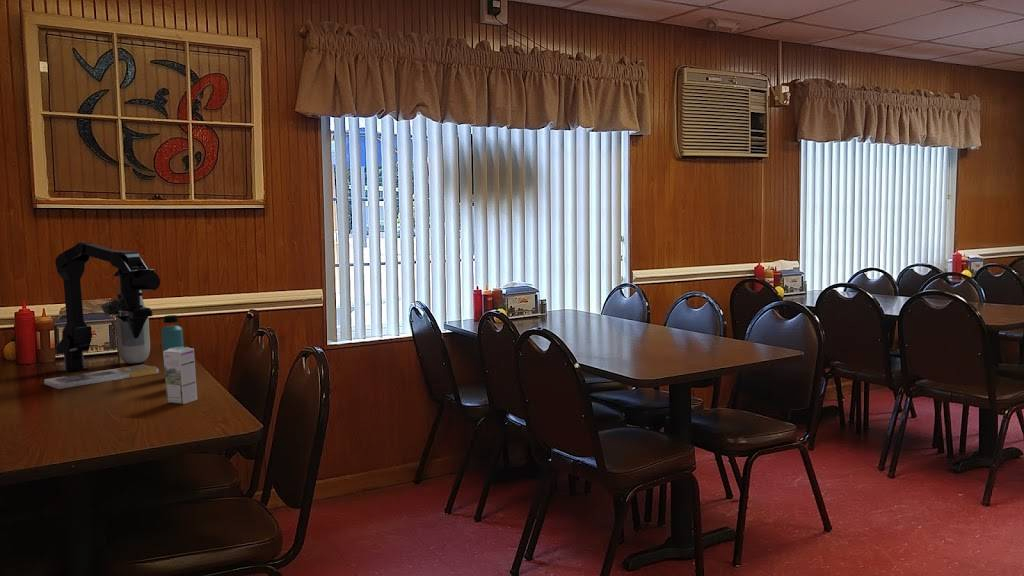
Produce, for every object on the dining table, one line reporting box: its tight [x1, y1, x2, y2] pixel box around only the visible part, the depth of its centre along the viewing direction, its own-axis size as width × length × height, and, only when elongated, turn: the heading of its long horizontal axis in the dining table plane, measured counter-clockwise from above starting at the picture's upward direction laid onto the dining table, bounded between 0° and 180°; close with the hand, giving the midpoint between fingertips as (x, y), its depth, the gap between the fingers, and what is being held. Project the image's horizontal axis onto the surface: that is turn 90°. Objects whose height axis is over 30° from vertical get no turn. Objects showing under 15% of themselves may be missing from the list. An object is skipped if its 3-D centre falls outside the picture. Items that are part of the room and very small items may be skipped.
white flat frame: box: [44, 364, 160, 390], centre depth 246 cm, size 13×30×2 cm, turn 138°
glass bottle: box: [115, 288, 151, 365], centre depth 272 cm, size 10×10×28 cm
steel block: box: [121, 321, 144, 347], centre depth 253 cm, size 5×5×8 cm
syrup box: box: [162, 347, 198, 405], centre depth 209 cm, size 6×6×14 cm
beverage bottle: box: [160, 314, 185, 375], centre depth 243 cm, size 6×7×20 cm
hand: (132, 337), depth 253 cm, fingers closed on steel block, 5 cm apart
